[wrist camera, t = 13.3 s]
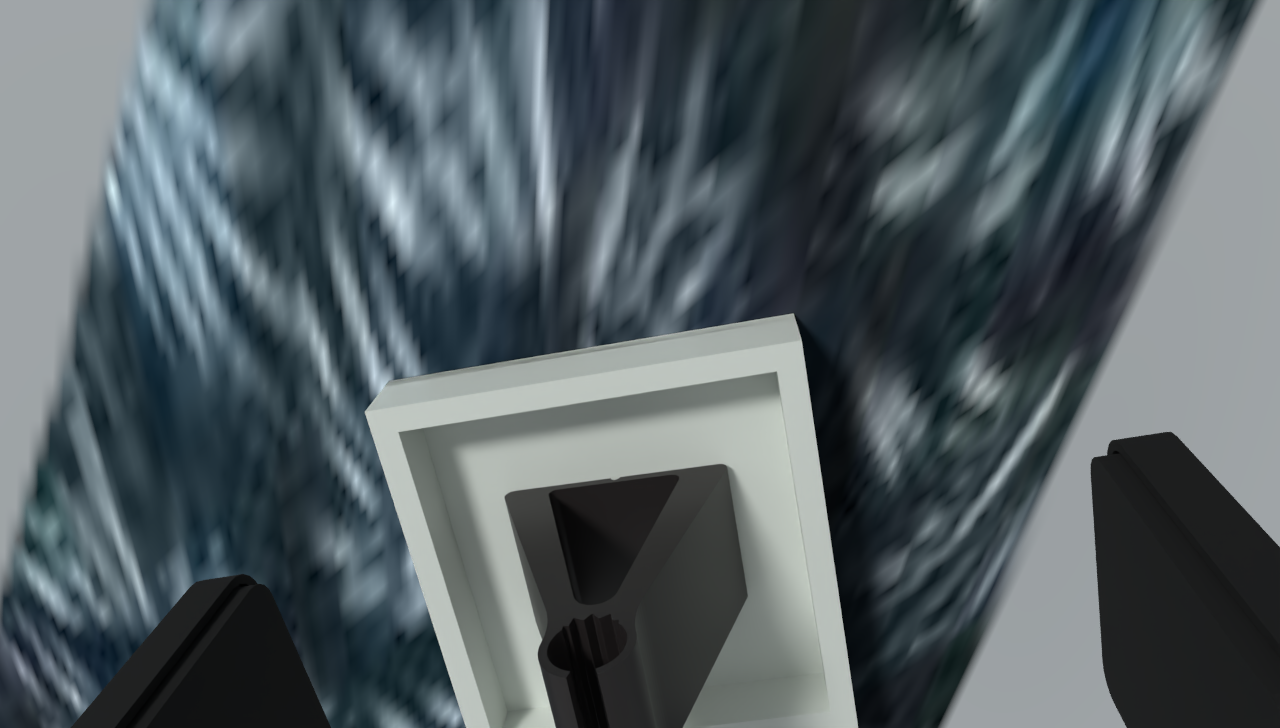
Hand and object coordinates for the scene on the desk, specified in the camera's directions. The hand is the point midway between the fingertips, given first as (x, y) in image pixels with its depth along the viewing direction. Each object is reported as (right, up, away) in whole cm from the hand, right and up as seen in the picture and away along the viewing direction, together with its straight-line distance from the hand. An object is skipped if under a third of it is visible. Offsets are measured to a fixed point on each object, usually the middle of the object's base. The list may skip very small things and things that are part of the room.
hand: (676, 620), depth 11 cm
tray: (-1, -4, +29) cm, 30 cm away
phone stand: (-1, -4, +29) cm, 29 cm away
